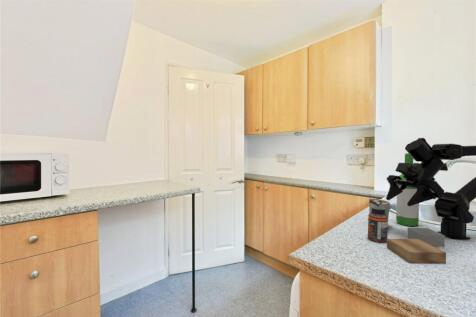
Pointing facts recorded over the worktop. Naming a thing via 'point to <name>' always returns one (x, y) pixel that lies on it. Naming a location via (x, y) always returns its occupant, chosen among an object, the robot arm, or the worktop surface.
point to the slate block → (427, 236)
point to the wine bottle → (403, 211)
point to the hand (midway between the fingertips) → (396, 202)
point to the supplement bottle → (378, 225)
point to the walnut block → (416, 251)
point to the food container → (379, 205)
